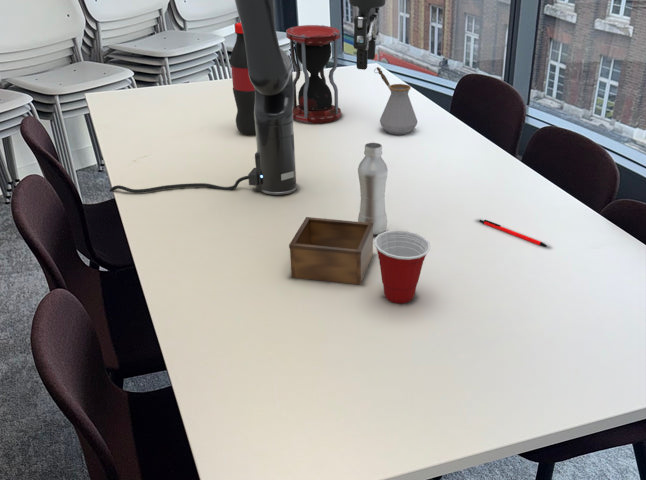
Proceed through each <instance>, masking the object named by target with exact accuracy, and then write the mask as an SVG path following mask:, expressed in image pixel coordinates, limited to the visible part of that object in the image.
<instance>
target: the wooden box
mask: <svg viewBox="0 0 646 480" xmlns="http://www.w3.org/2000/svg"><path fill="white" fill-rule="evenodd" d="M373 227H374V223H366V222H358V221H355V220H343V219H333V218H323V217H312V216H305V218H304V220H303V221H302V223H301V225H300V226H299V228H298V230H297V231H296V233H295V234H294V236H293V238H292V239H291V241H290V243H289V244H288V249H289V257H290V258H289V259H290V273H291V278H292V279H293V278H294V279H295V278H296V279H303V280H313V281H324V282H332V283H343V284H353V285H361V284H362V282H363V280H364V277H365V275H366V272H367V270H368V268H369V265H370V263H371V261H372V258H373V255H374V235H373Z"/></svg>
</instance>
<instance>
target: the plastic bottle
mask: <svg viewBox="0 0 646 480" xmlns="http://www.w3.org/2000/svg"><path fill="white" fill-rule="evenodd" d="M363 154H364V156H363V158H362V159H361V161H360V162H359V164H358V167H357V175H358V181H359V182H358V183H359V191H360V203H359V212H358V217H357V222H366V223H374V227H373V236H374V235H375V236H376V235H379V234H381V233H383V232H385V230H386V229H387V225H388V218H387V217H388V216H387V212H386V186H387V179H388V173H389V170H388V166H387V163H386V161H385V160H384V159H383V157H382V155H383V145H382V144H381V143H378V142H367V143H365V144H364V151H363Z"/></svg>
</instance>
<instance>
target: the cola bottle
mask: <svg viewBox="0 0 646 480" xmlns="http://www.w3.org/2000/svg"><path fill="white" fill-rule="evenodd" d="M234 33H235V34H236V38H235V43H234V45H233V49H232V51H231V54H230V57H229V64H230V69H231V79H232V80H231V81H232V92H233V98H234V101H235V106H236V110H237V111H236V115H235V125H236V128H237V130H238V132H239V133H240V134H241V135H243V136H250V137H251V136H252V137H253V136H256V130H255V118H254V106H255V88H254V86H253V85H252V83H251V81H250V78H249V74H248V64H247V55H246V47H245V40H244V34H243V29H242V25H241V22H237V23H235V25H234Z"/></svg>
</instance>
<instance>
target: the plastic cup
mask: <svg viewBox="0 0 646 480" xmlns="http://www.w3.org/2000/svg"><path fill="white" fill-rule="evenodd" d="M374 247H375V248H376V252H377V256H378V258H377V259H378V261H379V267H380V276H381V282H382V287H383V293H384V296H385V299H386V300H387V301H389V302H391V303H395V304H406V303H409V302H411V301H412V300H413V299H414V297H415V294H416V290H417V286H418V283H419V279H420V275H421V272H422V268H423V264H424V261H425V258H426V257H427V255H428V253H429V252H430V250H431V242H429V240H427V238H426V237H424V236H423V235H421V234H420V233H417V232H413V231H409V230H401V229H400V230H399V229H393V230H386V231H384V232H382V233H380V234H377V235H376V237H375V238H374Z"/></svg>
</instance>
